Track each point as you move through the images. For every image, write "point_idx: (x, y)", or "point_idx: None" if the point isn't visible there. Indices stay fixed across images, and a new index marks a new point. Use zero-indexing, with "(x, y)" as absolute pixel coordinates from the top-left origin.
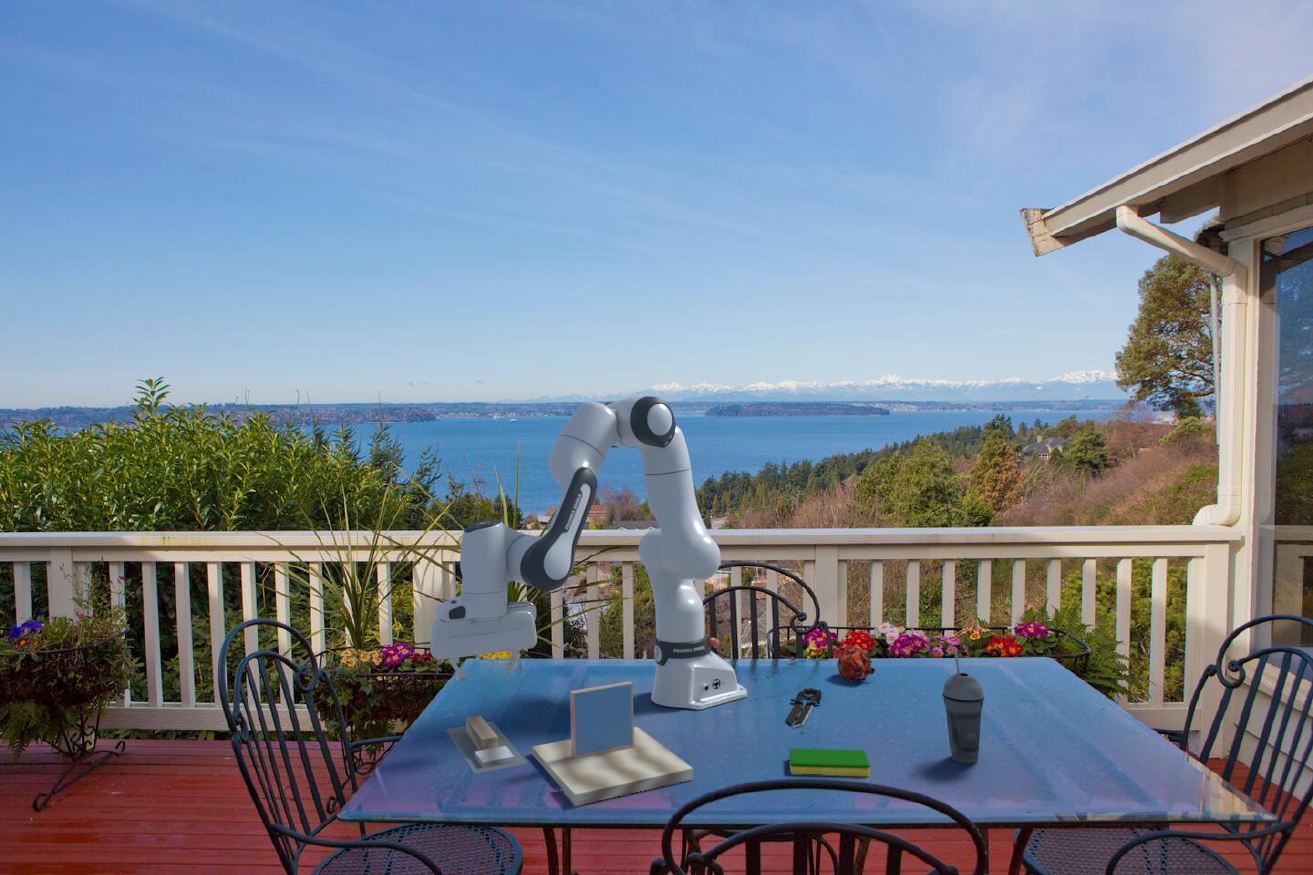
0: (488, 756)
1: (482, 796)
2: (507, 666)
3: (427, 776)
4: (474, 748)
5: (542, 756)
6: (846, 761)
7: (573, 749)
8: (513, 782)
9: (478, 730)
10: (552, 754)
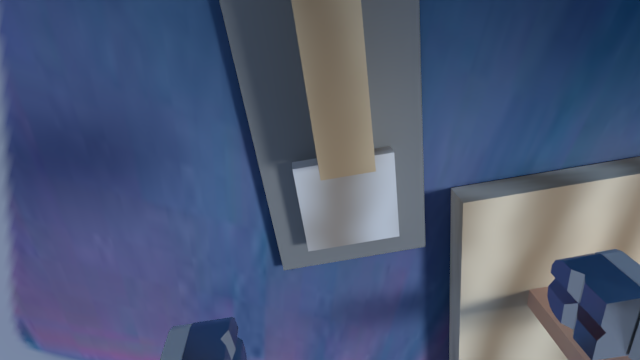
0: (329, 217)
1: (296, 347)
2: (593, 353)
3: (158, 227)
4: (294, 88)
5: (465, 272)
6: None
7: (540, 320)
8: (369, 307)
9: (315, 78)
10: (493, 267)
